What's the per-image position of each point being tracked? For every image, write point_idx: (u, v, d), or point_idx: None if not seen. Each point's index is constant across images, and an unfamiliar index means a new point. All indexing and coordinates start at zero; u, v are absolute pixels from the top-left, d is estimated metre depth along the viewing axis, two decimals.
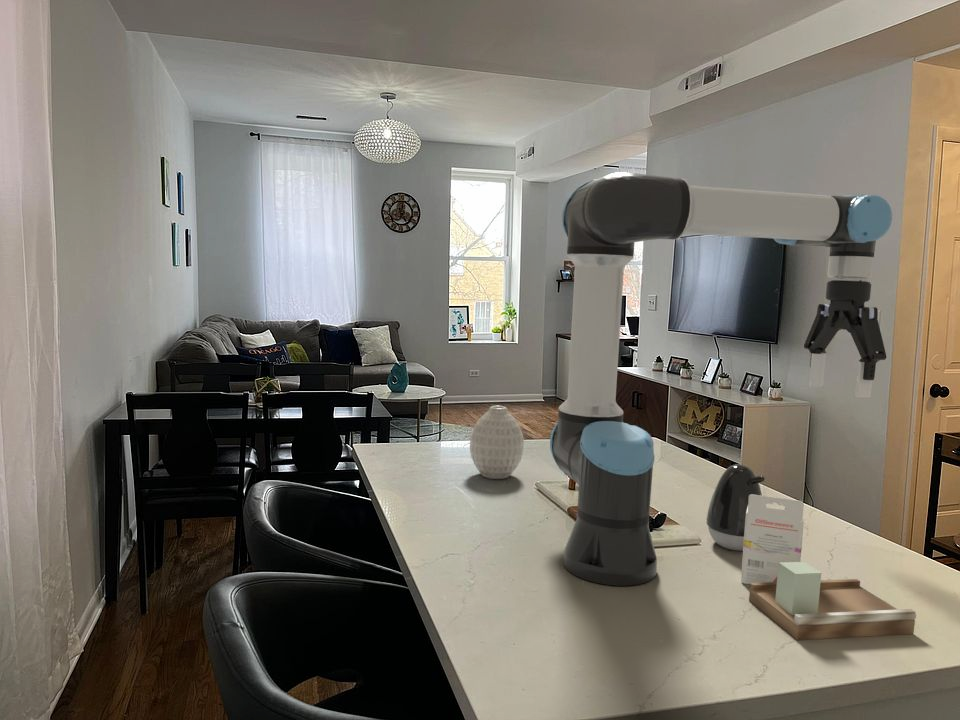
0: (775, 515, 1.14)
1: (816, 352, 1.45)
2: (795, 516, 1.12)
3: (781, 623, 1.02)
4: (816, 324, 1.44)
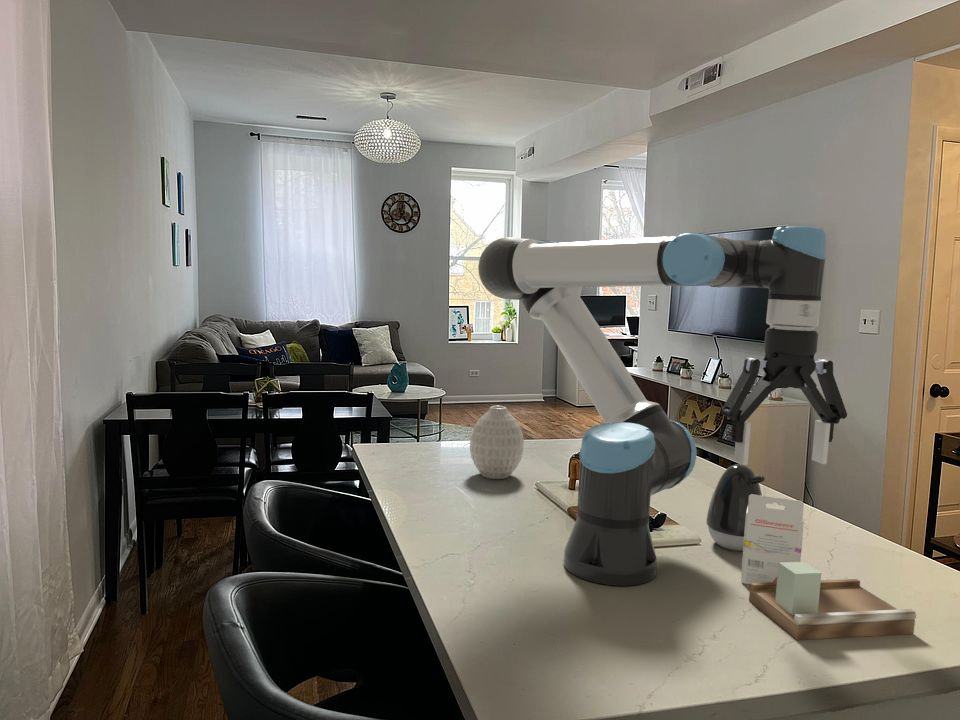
0: (775, 515, 1.14)
1: (823, 420, 1.16)
2: (795, 516, 1.12)
3: (781, 623, 1.02)
4: None
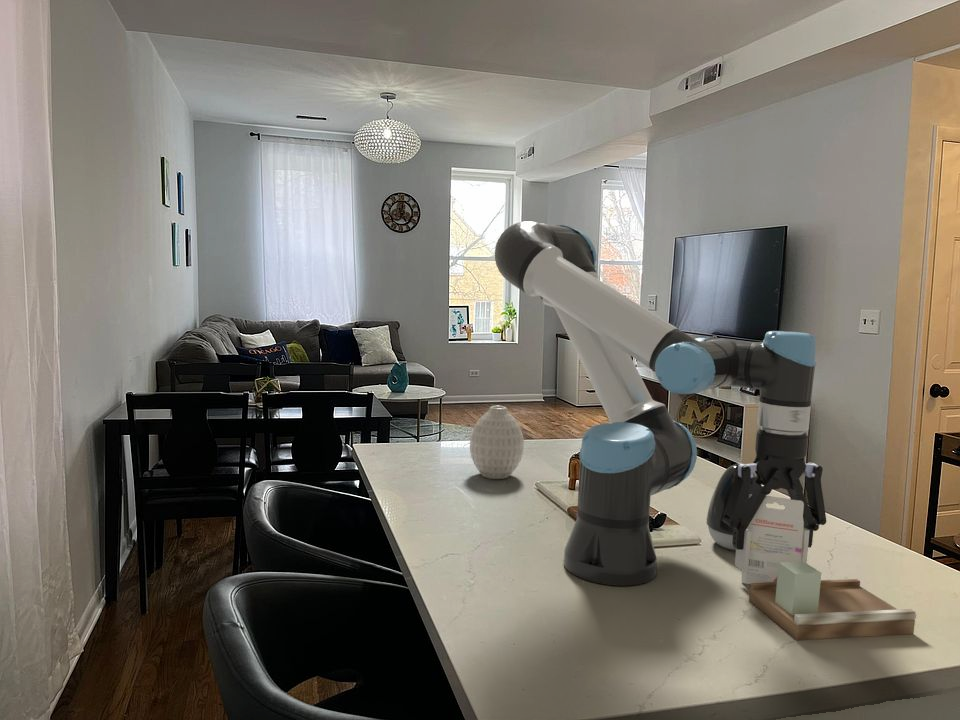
0: (775, 515, 1.14)
1: None
2: (795, 516, 1.12)
3: (781, 623, 1.02)
4: None
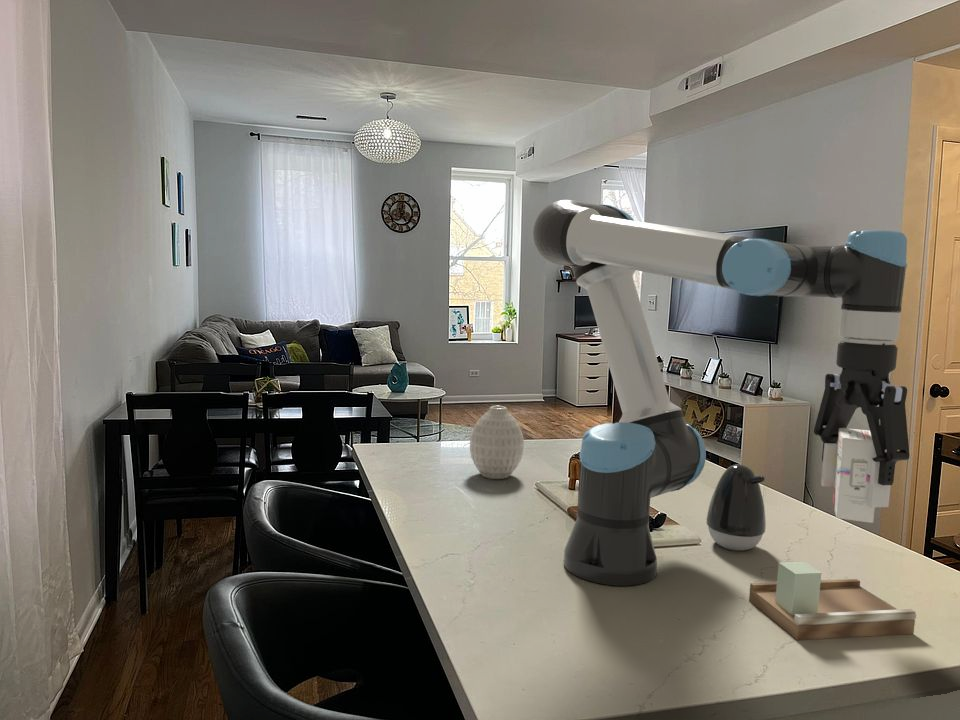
0: None
1: (830, 442, 1.10)
2: None
3: (781, 623, 1.02)
4: (826, 401, 1.10)
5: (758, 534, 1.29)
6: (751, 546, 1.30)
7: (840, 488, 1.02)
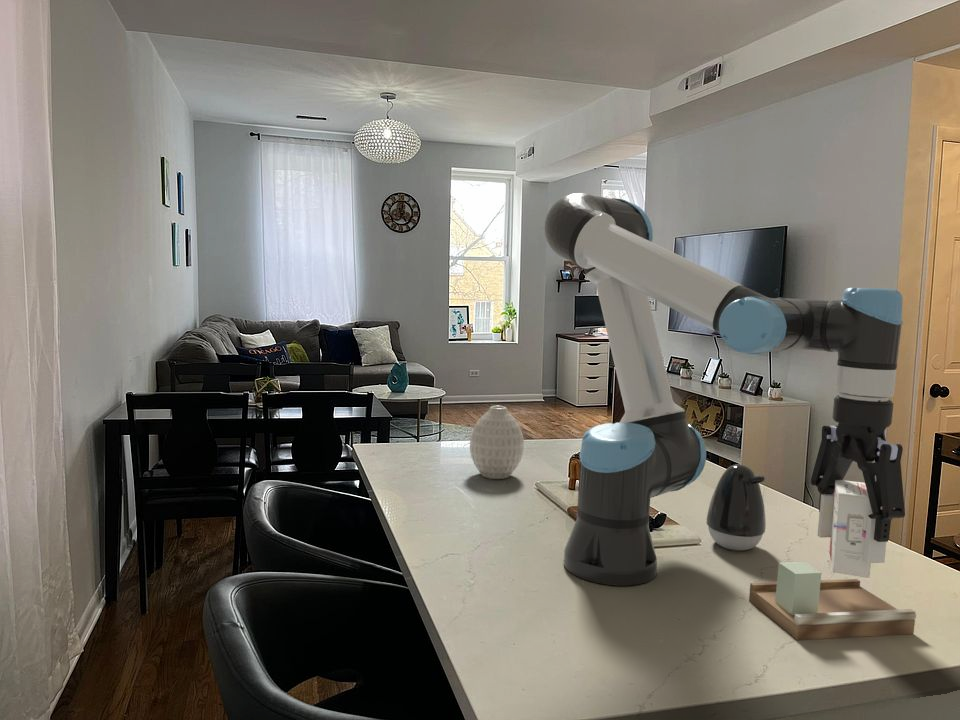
0: None
1: (827, 493, 1.11)
2: None
3: (781, 623, 1.02)
4: (823, 452, 1.10)
5: (758, 534, 1.29)
6: (751, 546, 1.30)
7: (836, 543, 1.03)
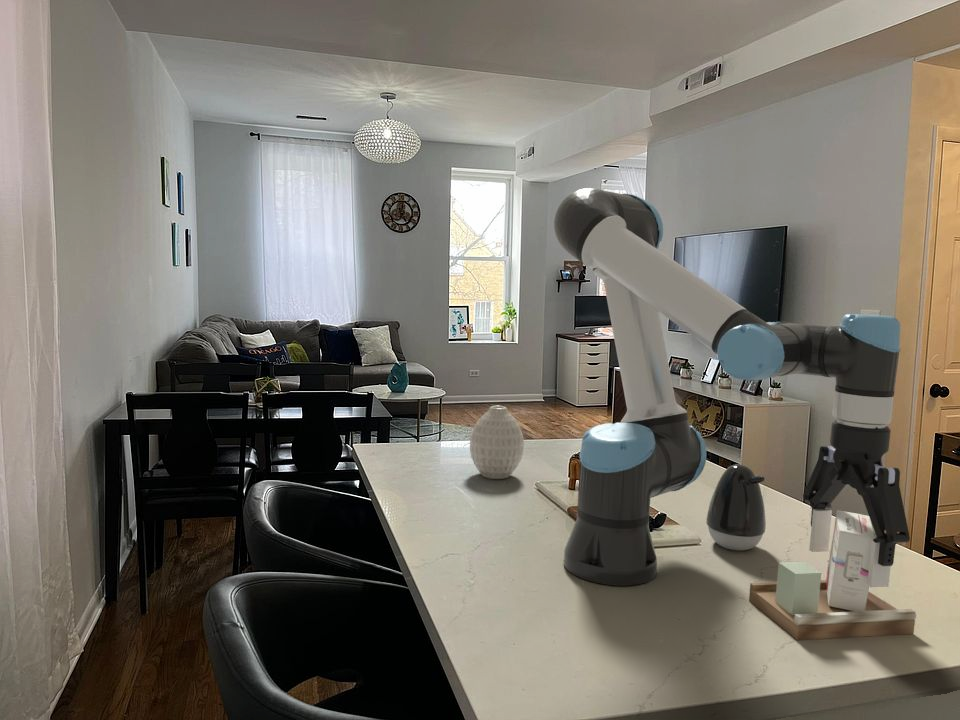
0: None
1: (819, 508, 1.12)
2: None
3: (781, 623, 1.02)
4: (818, 472, 1.11)
5: (758, 534, 1.29)
6: (751, 546, 1.30)
7: (834, 578, 1.03)
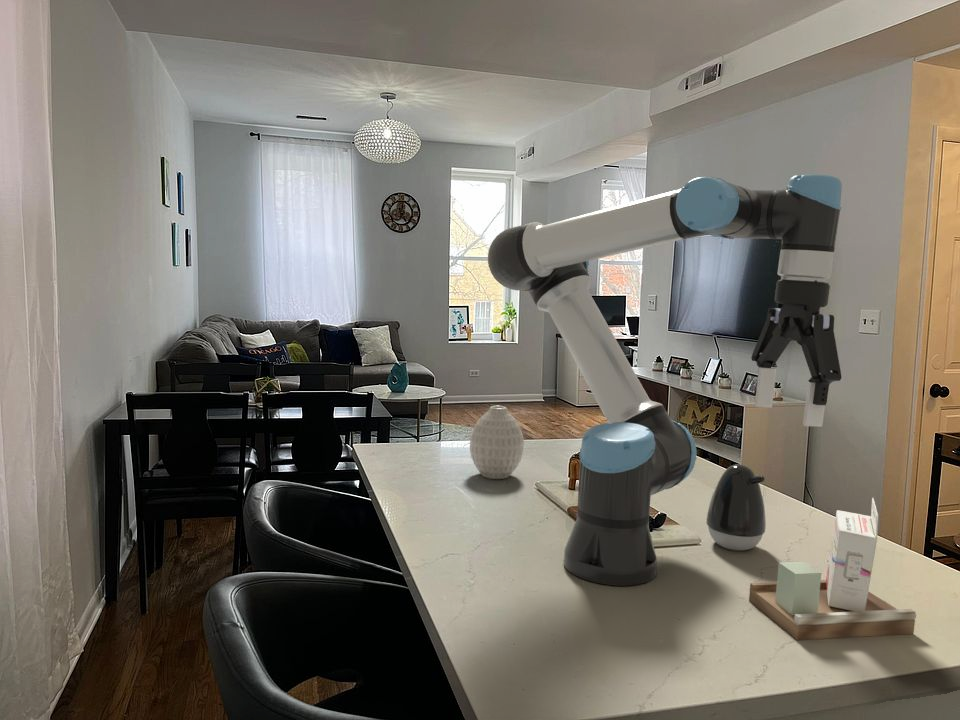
0: (874, 524, 1.04)
1: (764, 366, 1.20)
2: (872, 515, 1.06)
3: (781, 623, 1.02)
4: (765, 332, 1.19)
5: (758, 534, 1.29)
6: (751, 546, 1.30)
7: (834, 578, 1.03)
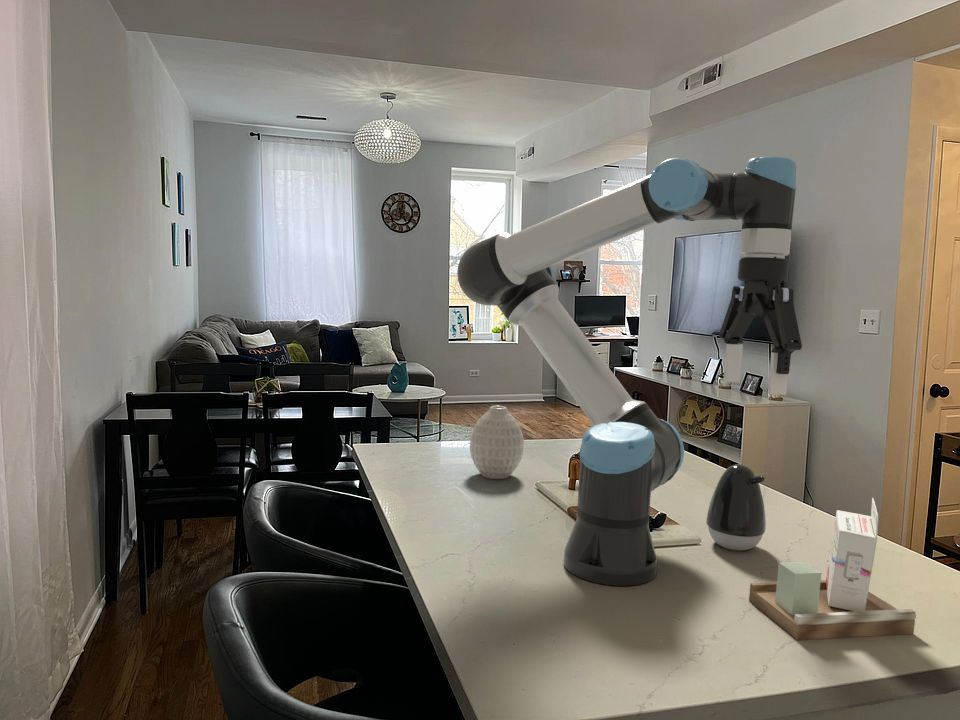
0: (874, 524, 1.04)
1: (731, 343, 1.25)
2: (872, 515, 1.06)
3: (781, 623, 1.02)
4: (730, 310, 1.24)
5: (758, 534, 1.29)
6: (751, 546, 1.30)
7: (834, 578, 1.03)
